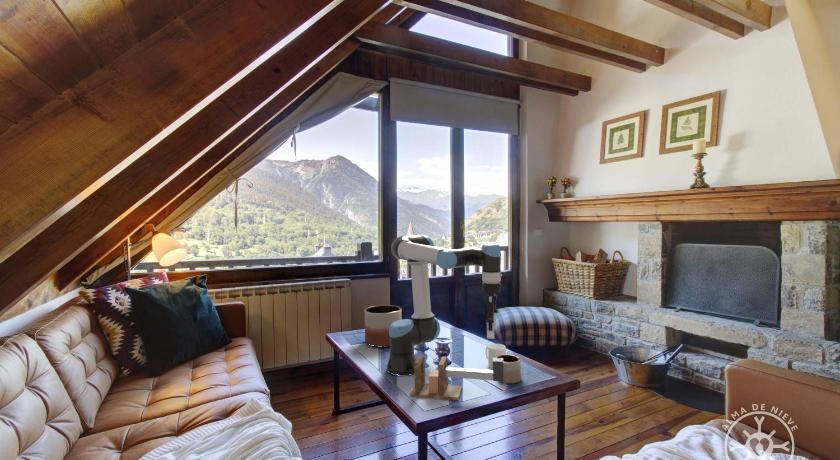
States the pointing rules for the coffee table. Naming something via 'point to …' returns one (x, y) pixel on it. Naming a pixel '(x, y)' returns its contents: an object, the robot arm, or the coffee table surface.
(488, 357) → the cup
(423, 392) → the bracket
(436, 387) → the spacer
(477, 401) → the coffee table surface
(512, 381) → the planter
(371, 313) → the planter
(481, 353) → the coffee table surface
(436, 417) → the coffee table surface
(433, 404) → the coffee table surface
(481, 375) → the hammer
